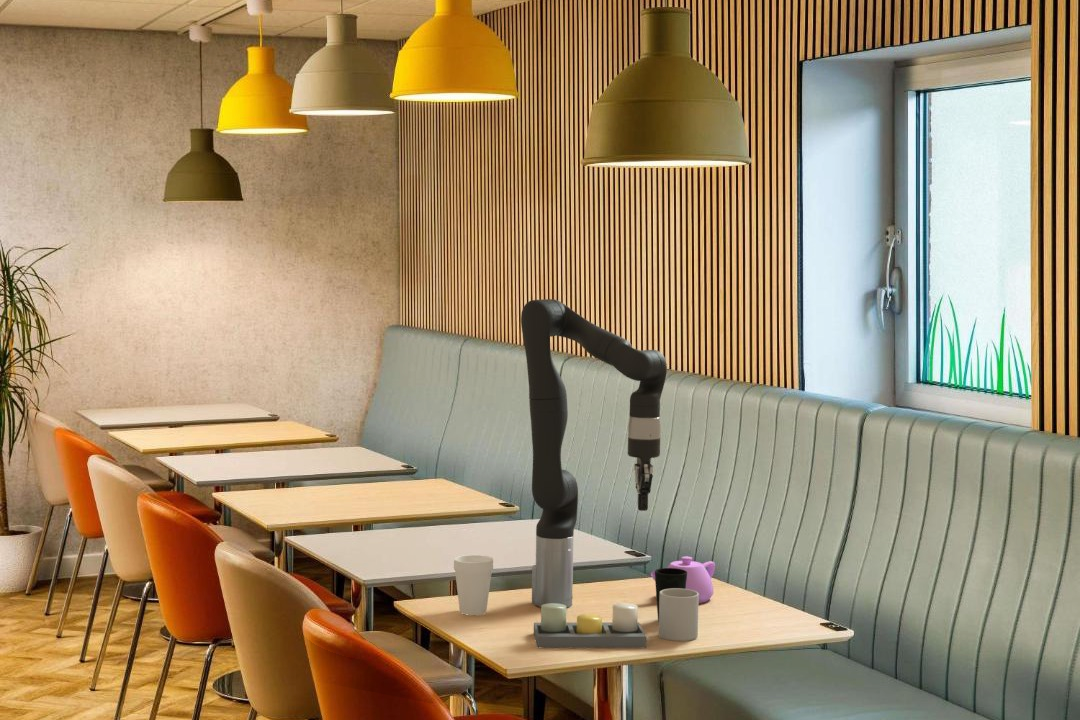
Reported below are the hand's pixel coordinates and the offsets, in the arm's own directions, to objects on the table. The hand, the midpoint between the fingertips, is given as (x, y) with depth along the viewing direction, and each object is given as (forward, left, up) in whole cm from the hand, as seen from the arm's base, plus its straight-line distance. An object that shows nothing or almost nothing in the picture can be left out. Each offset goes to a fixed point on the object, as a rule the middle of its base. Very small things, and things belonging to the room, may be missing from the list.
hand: (642, 509), depth 319 cm
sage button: (-11, -23, -24) cm, 35 cm away
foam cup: (-39, -11, -27) cm, 49 cm away
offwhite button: (+3, -15, -24) cm, 29 cm away
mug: (+12, -4, -27) cm, 30 cm away
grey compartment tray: (-4, -19, -27) cm, 33 cm away
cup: (+5, +6, -27) cm, 28 cm away
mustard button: (-4, -19, -27) cm, 33 cm away
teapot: (-1, +29, -27) cm, 40 cm away
